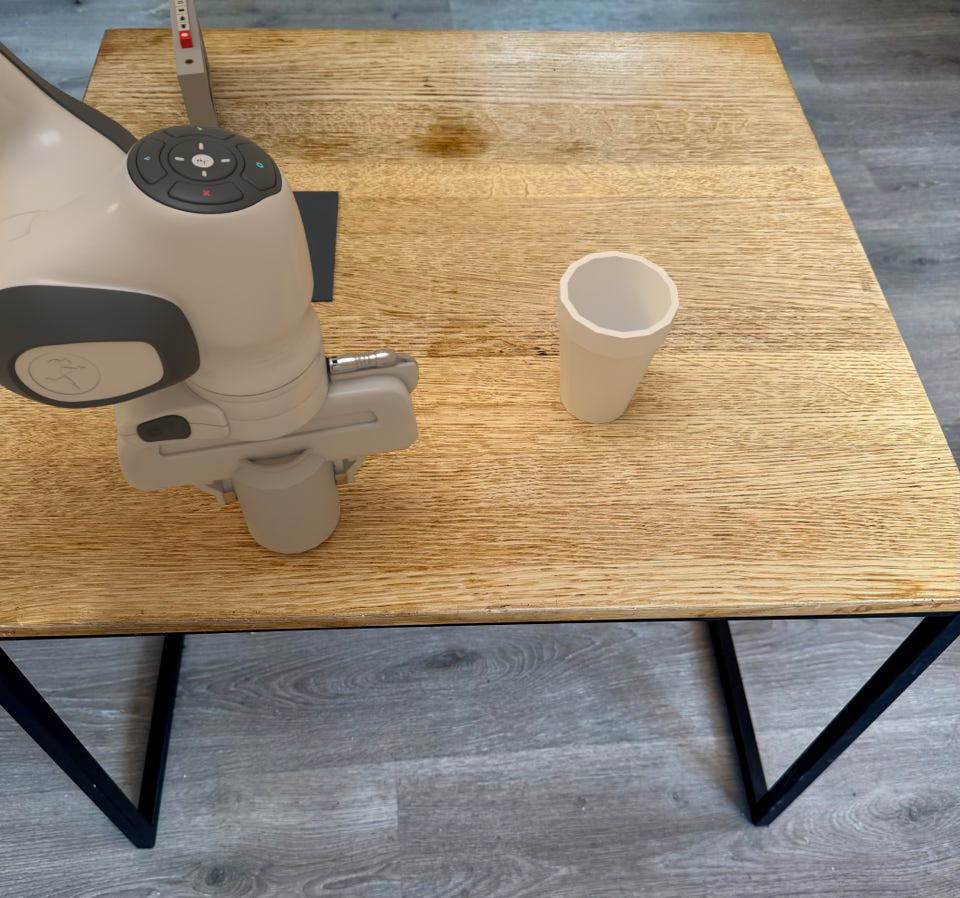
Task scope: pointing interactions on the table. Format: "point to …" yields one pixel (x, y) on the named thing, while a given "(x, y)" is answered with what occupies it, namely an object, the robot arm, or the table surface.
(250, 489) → the can
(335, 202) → the mat
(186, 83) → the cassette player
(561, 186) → the table surface
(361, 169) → the table surface
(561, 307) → the foam cup
